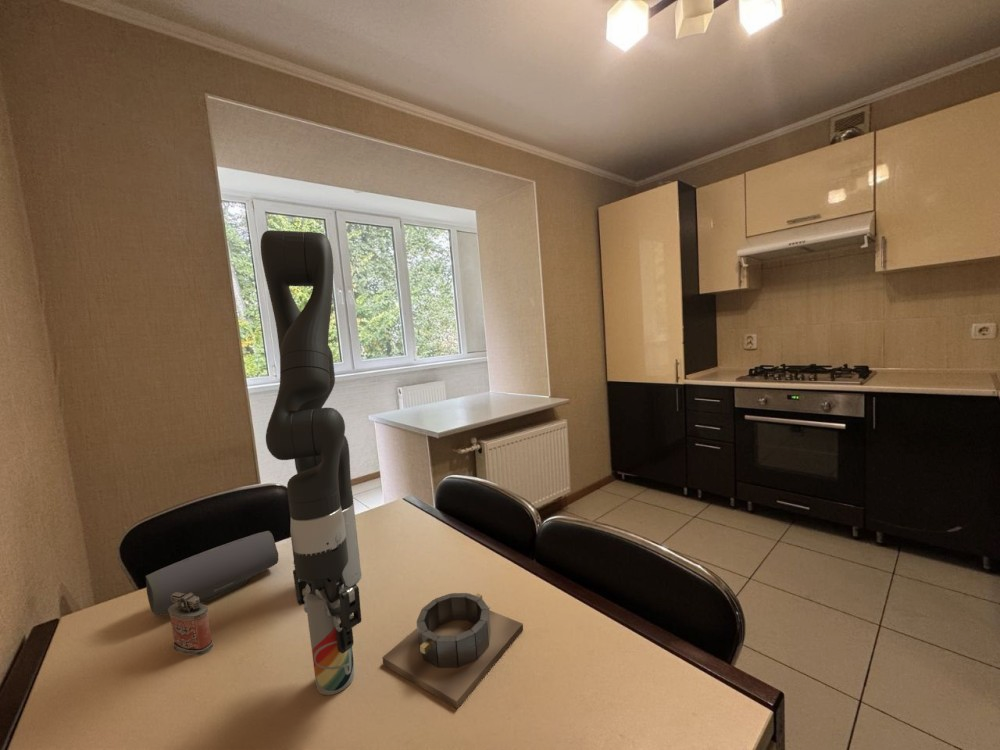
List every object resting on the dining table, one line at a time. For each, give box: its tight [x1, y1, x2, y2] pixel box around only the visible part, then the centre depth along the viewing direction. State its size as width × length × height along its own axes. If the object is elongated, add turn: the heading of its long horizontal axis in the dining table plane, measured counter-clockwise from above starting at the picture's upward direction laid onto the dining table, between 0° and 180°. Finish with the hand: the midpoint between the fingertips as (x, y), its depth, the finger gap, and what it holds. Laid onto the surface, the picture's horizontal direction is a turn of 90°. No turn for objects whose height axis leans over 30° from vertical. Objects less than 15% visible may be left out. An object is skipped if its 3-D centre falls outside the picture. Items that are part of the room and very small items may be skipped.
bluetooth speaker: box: [145, 530, 279, 618], centre depth 91 cm, size 23×9×10 cm, turn 139°
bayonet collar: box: [416, 592, 491, 668], centre depth 70 cm, size 12×15×4 cm
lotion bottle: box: [306, 579, 355, 696], centre depth 64 cm, size 6×6×20 cm
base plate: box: [382, 605, 524, 710], centre depth 71 cm, size 16×19×1 cm
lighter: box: [168, 592, 214, 656], centre depth 74 cm, size 8×3×10 cm, turn 71°
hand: (331, 639), depth 64 cm, fingers open, 7 cm apart
